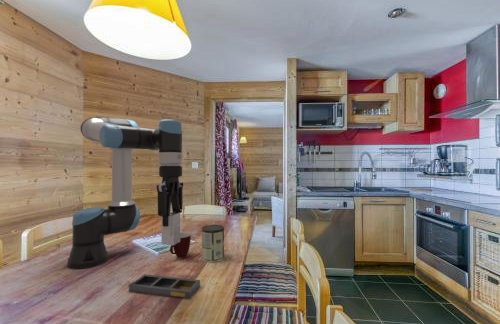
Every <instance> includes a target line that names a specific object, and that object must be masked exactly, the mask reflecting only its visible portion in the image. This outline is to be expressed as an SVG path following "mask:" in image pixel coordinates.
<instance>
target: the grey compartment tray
mask: <svg viewBox="0 0 500 324" xmlns="http://www.w3.org/2000/svg"><path fill="white" fill-rule="evenodd" d="M200 287H201V280H200V279H193V278H184V277H183V278H182V277H173V276H172V277H171V276H165V275H154V274H142V275H141V276H140V277H138V278H137V279H136V280H134V281H133V282H132V283H130V284H129V285H128V292H133V293H140V294H148V295H157V296H166V297H171V298H181V299H188V300H189V299H191V298H192V296H193V295H194V294H195V293H196V292H197V290H198V289H199V288H200Z"/></svg>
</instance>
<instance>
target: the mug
mask: <svg viewBox="0 0 500 324" xmlns="http://www.w3.org/2000/svg"><path fill="white" fill-rule="evenodd" d="M191 240H192V239H191V233H188V232H180V242H178V243H177V244H175V245H170V247H169V252H170V253H171V255H175V256H176V257H177V258H178V259H184V258H186V257H187V256H188V253H189V251H190V246H191Z"/></svg>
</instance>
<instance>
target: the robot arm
mask: <svg viewBox="0 0 500 324" xmlns="http://www.w3.org/2000/svg"><path fill="white" fill-rule="evenodd" d="M80 133H81V134H82V136H83V137H84V138H86V139H87V140H89V141H92V142H99V143H100V144H101V146H102V147H104V148H109V149H110V150H111V201H110V202H109V203H108V204H107V209H106V208H105V207H103V206H93V207H86V208H84V209H80V210H78V211H75V212H74V214H72V223H71V225H72V245H71V250H70V254H69V257H68V259H66V260H67V262H66V263H67V268H70V269H74V270H75V269H76V270H77V269H78V270H79V269H80V270H81V269H87V268H92V267H95V266H99V265H102V264H103V263H105V262H107V261H108V260H109V253H108V252H109V251H107V248H106V245H105V239H104V237H105V236H108V235H113V234H114V235H115V234H118V233H119V234H120V233H124V232H125V233H126V232H129V231H133V230H135V229H136V228H137V226H138V225H139V223H140V218H141V211H140V208H139V207H138V206H137V205H136V202H135V201H134V200H133V196H132V195H133V185H132V184H133V150H134V149H136V150H149V151H158V164H159V165H160V166H159V167H158V177H160V178H162V179H161V180H162V181H161V184H157V185H156V192H157V216H159V217H161V216H162V223H163V236H171V216H169V215H170V212H171V211H172V212H180V214H181V213H183V208H184V205H183V201H184V200H183V196H184V195H183V188H184V182H180V178H181V177H182V176H183V167H182V164H183V157H184V156H183V155H182V154H183V153H182V152H183V151H182V150H183V131H182V122H181V121H179V120H177V119H170V118H169V119H168V118H166V119H160V120H159V121H158V127H157V128H148V127H147V128H145V127H139V125H138V124H137V122H136V121H134V120H131V119H127V118H117V117H109V116H92V117H88V118H86V119H85V120H83V122H82V123H81V124H80Z"/></svg>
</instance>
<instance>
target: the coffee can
mask: <svg viewBox="0 0 500 324" xmlns="http://www.w3.org/2000/svg"><path fill="white" fill-rule="evenodd" d="M224 259H225V226H224V225H221V224H209V225H204V226H202V227H201V260H202V261H203V262H207V263H216V262H220V261H223V260H224Z"/></svg>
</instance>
